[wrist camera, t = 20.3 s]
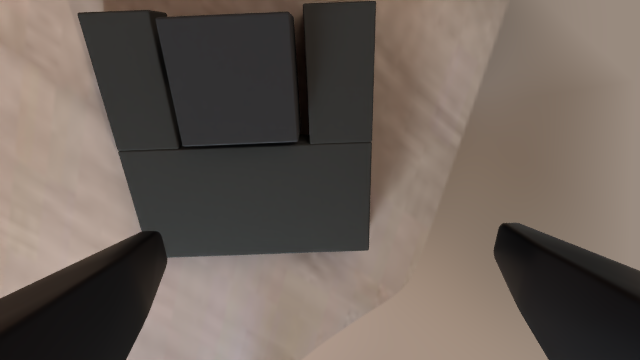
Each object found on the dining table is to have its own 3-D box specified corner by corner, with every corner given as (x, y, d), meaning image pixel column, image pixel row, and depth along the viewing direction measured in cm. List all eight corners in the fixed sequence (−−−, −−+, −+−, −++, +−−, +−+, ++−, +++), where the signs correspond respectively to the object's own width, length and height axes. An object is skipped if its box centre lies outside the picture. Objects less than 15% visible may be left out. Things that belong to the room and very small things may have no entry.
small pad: (293, 15, 17) (289, 11, 14) (300, 127, 20) (298, 142, 17) (179, 20, 17) (154, 17, 14) (201, 131, 20) (182, 146, 17)
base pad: (369, 4, 17) (375, 0, 15) (364, 233, 23) (368, 250, 21) (101, 15, 17) (76, 12, 15) (162, 240, 23) (149, 258, 21)
